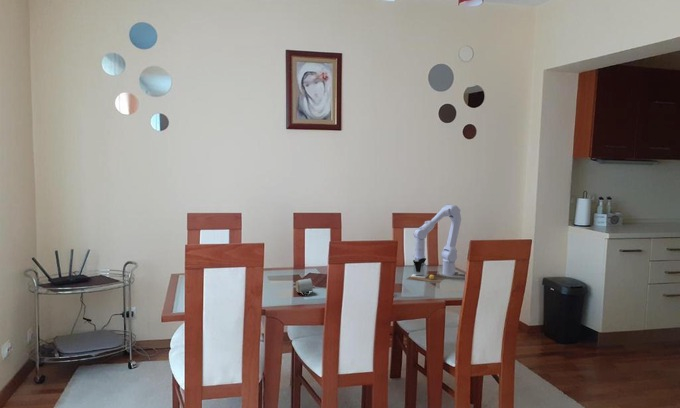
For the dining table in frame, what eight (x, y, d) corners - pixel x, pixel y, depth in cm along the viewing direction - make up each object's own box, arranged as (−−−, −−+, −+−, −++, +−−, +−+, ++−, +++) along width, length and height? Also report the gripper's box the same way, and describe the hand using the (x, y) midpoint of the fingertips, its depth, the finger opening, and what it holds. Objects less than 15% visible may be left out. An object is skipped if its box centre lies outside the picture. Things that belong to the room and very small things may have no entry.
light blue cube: (416, 272, 292) (416, 262, 291) (425, 273, 289) (425, 263, 289) (413, 274, 287) (413, 264, 286) (422, 275, 284) (423, 265, 284)
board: (414, 274, 296) (414, 273, 296) (446, 277, 287) (446, 276, 287) (405, 281, 279) (405, 279, 279) (439, 284, 271) (439, 282, 271)
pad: (414, 273, 294) (414, 273, 294) (428, 275, 290) (428, 274, 290) (410, 276, 286) (410, 276, 286) (424, 278, 282) (424, 277, 282)
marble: (429, 278, 281) (429, 273, 281) (434, 279, 280) (434, 274, 279) (428, 279, 278) (428, 274, 278) (433, 280, 277) (433, 275, 277)
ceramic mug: (294, 292, 255) (294, 278, 254) (309, 290, 258) (309, 276, 257) (299, 297, 245) (299, 283, 244) (314, 296, 248) (314, 281, 247)
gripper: (416, 246, 295) (416, 268, 296) (410, 250, 282) (409, 272, 283) (427, 247, 292) (427, 269, 293) (421, 251, 279) (421, 273, 280)
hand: (419, 270), depth 288 cm, fingers closed on light blue cube, 6 cm apart
